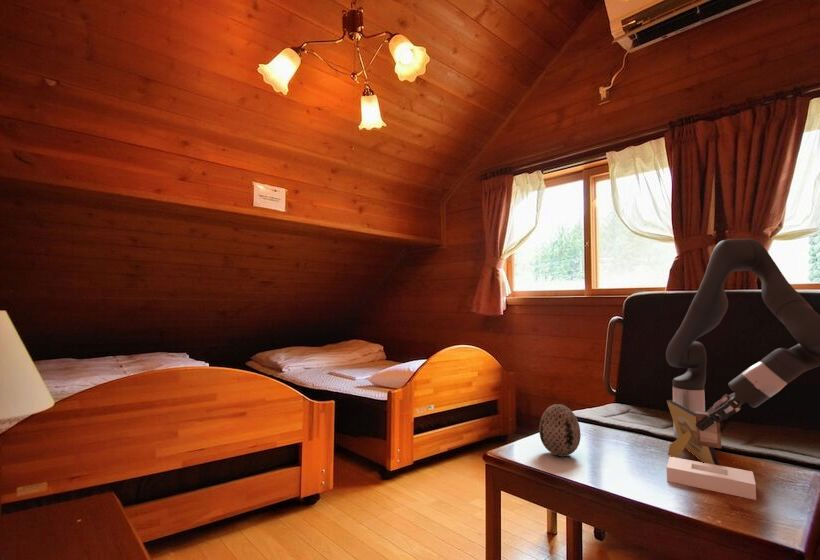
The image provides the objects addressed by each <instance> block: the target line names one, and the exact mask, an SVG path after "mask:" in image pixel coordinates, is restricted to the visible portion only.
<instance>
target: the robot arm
mask: <svg viewBox="0 0 820 560" xmlns="http://www.w3.org/2000/svg"><path fill="white" fill-rule="evenodd" d="M745 271H746V272H747V271H750V272H751V273H752V274H754V275H755V276H756V277H757V278H758V279H759V280H760V282H761V290H760V291H761V298H762V300H763V303H764V304H765V306H766V307H767V309H769V311H770V312H771V313H772V314H773V315H774V316H775V317H776V318H777V319H778V321H779V322H780V323H782V324H783V325H784V327H785V329H787V331H788V333H790V335H791V336H792V337H793V338H794V340H795V341H796V342H797V344H796V345H794V346H792V347H790V348H784V347H779V348H776V349H774V350H773V351H771V352H769V354H767V355H766V356H765V357H763V358H761V360H759V361H757V362H756V363H753V364H752V365H751V366H748V368H746V369H745V370H743V371H742V372H741V373H740V374H738V375H737V376H736V377H734V378H732V379H731V380H730V381H729V382H728V384H727V385H728V387H729V388H730V389H731V391H732V393H730V394H727V393H725V394H724V395H723V396H722V397H721V398H720V399H719V400H717V401H716V402H714V403H713V405H712V406H710V407H709V409H708V410H706V400H705V399H706V398H705V384H706V380H707V350H706V348H705V345H704V344H703V343H701V342H700V341H696V340H698V338H701V337H702V336H704V335H706V334H708V333H709V332H711V331H712V330H713V329H715V328H716V327H717V326H718V325H719V324H720V323H721V321H722V319H723V318H724V316H725V314H726V313H727V311H728V308H729V300H728V297H727V293H726V291H725V288H724V286H725V284H726V283H725V282H726V280H727V278H728V276H729V274H731V273H732V272H745ZM703 275H704V276H703V279H702V280H701V282H700V284H699V287H698V289H697V291H696V293H695V295H694V297H693V299H692V301H691V303H690V305H689V308H688V310H687V312H686V315H685V316H684V318H683V320H682V322H681V324H680V326H679V328H678V329H677V330H676V332H675V333H674V335H673V337H672V338H671V340H670V341H669V342H668V345H667V346H666V347H667V348H666V351H665V359H666V363H667V364H668V365H669V366H670V367H672V368H673V367H674V368H677V369H687V370H686V372H684V373H683V374H681V375H678V376H676V377H674V378H673V379H672V401H673V402H675V403H677V404H679V405H681V406H682V407H684V408H686V409H688V410H690V411H692V412H694V413H695V414H696V411H699V412H708V414H707V415H706V416H705V417H704V418H702V419H701V420H700V421H698V422H697V423H696V427H698V428H699V429H700V430H701V431H704V430H705V429H707V428H708V427H709V426H711V425H712V424H714V423H720V424H721V422H722V421H724V420H725V419H728V418H729V417H731V416H732V415H734V414H736V413H737V412H739V411H740V410H741V409H742V408H741V406H742V405H744V403H746V404H747V405H748V406H750V407H751V408H757V407H759V406H760V405H762V404H763V403H765V402H766V401H767V400H769V399H770V398H772V397H773V396H775V395H776V394H778V393H779V392H780V391H781V390H783V388H785V386H787V385H788V384H790V383H791V382H792V381H793V380H795V379H796V378H798V377H799V376H800V375H801V374H803V373H805V372H807V371H809V370H812V369H815V368H818V367H819V366H820V314H819V313H818V312H817V311H815V310H814V308H813V307H812V305H811V304H810V303H809V302H808V301H807V300H806V299H805V298H804V297H803V296H802V295H801V294H800V293H799V292H798V291H797V290H796V289H795V288H794V287H793V286H792V285H791V284H790V283H789V281H788V280H787V278H786V277H785V276H784V274H783V273H782V271H781V270H780V268H779V267H778V265H777V263H776V262H775V261H774V259H773V257H771V255H770V253H769V252H768V250H767V249H766V247H764V245H763V244H762V242H760V241H759V240H757V239H754V238H729V239H723V240H720V241H719V242H718V243H717V244H715V247H714V248H713V250H712V253H711V255H710V258H709V260H708V263H707V267H706V269H705V273H704V274H703ZM716 413H718V414H719V416H720V417H717V416H716V415H715V414H716ZM672 425H673V428H672V429H673V437H674V439H676V440H677V439H678V438H679V437H678V434H677V431H676V428H675V425H674V422H672Z"/></svg>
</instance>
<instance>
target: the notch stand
mask: <svg viewBox="0 0 820 560" xmlns="http://www.w3.org/2000/svg"><path fill="white" fill-rule="evenodd" d="M719 465H720V464H719ZM719 465H714V464H708V463H703V462H701V461H698V460H697V461H696V460H690V459H684V458H680V457H678V458H675V457H671V456H669V459H668V461H667V464H666V482H670V483H674V484H679V485H684V486H687V487H688V486H689V487H692V488H697V489H702V490H707V491H711V492H712V491H713V492H717V493H722V494H726V495H731V496H736V497H741V498H746V499H750V500H754V501H756V500H757V485H756V480H755V475H754V472H753V471H751V470H745V469H740V468H736V467H735V468H734V467H730V466H723V465H720V466H719Z"/></svg>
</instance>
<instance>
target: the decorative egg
mask: <svg viewBox="0 0 820 560" xmlns="http://www.w3.org/2000/svg"><path fill="white" fill-rule="evenodd" d="M540 417H541V418H540V421H539V428H538V429H539V431H538V432H539V438H540V441H541V443H542V446H544V447H545V449H546V450H547V451H548V452H549V453H551V454H553V455H554V456H559V457H566V456H569V455H571V454H573V453H574V452H575V451H576V450H577V449H578V447H579V446H580V443H581V442H580V441H581V438H582V437H581V435H582V433H581V427H580V423H579V421H578V418H577V416H576V414H575V413H574V411H572V410H571V408H569V407H567V406H566V405H564V404H562V403H561V404H560V403H555V404H552V405H549V406H548V407H547V408H546V409H545V411H544V412H543V414H542V415H541V416H540Z"/></svg>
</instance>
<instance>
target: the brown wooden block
mask: <svg viewBox="0 0 820 560" xmlns="http://www.w3.org/2000/svg"><path fill="white" fill-rule="evenodd" d="M707 414H708V412H707V411H705V412H699V411H696V423H697V422H698V421H700V420H701V419H702V418H704V417H705V416H706V415H707ZM715 415H716V416H717V417H720V416H719V414H718V413H716V414H715ZM696 428H697V445H699V446H707V447H713V448H714V449H715V448H716V449H722V434H721V422H720V423H714V424H712V425H711V426H709V427H708V428H707V429H705V430H704V431H701V430H700V429H699V428H698V427H696Z"/></svg>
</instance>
